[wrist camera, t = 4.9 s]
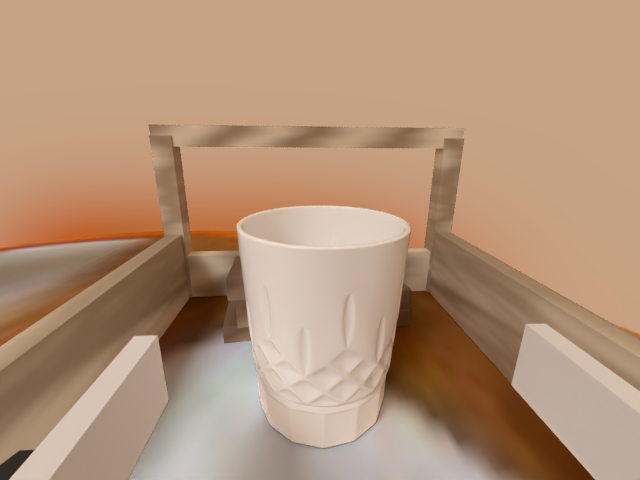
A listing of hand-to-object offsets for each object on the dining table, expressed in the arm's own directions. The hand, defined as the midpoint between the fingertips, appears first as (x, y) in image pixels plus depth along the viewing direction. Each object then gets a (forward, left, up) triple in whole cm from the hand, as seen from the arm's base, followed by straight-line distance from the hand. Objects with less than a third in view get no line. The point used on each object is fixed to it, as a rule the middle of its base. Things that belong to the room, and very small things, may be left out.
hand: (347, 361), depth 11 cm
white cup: (-4, +2, -6) cm, 8 cm away
